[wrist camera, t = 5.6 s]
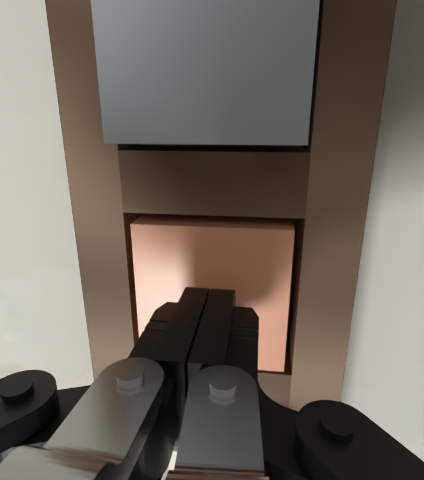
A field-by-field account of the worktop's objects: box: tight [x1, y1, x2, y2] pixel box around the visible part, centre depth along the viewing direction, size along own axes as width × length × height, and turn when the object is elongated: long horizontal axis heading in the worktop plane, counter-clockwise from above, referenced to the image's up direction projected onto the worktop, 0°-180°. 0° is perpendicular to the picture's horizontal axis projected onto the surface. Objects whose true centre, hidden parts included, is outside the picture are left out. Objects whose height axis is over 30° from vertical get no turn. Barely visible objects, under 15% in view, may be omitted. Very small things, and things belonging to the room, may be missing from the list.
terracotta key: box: [130, 213, 295, 372], centre depth 13 cm, size 5×5×2 cm
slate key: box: [91, 0, 320, 145], centre depth 9 cm, size 5×5×2 cm
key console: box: [45, 0, 397, 412], centre depth 13 cm, size 23×9×3 cm, turn 0°
